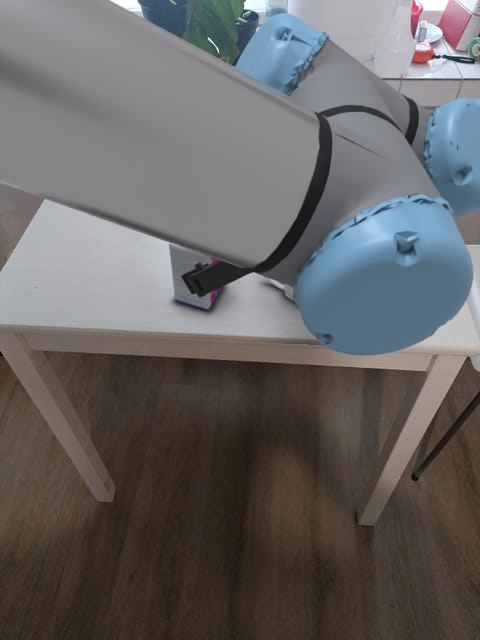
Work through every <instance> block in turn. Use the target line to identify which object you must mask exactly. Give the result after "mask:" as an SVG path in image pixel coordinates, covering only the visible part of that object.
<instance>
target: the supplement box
mask: <svg viewBox="0 0 480 640" xmlns="http://www.w3.org/2000/svg"><path fill="white" fill-rule="evenodd" d="M168 248H169V256H170V257H169V258H170V268H171V275H172V283H173V284H172V285H173V292H174V293H173V294H174V302H175V303H179V304H181V305H184V306H185V305H186V306H188V307H193V308H196V309H197V310H202V311H205V312H209V311H210V309H211V307H212V305H213V303H214V302H215V300H216V298H217V297H218V295H219V293H220V292H221V291H222V289H223V287H221V288H219V289H216V290H214V291H212V292H210V293H208V294H206V296H204V297H201V298H199V297H198V295H197V294H193V295H192V294H191V292H190V291H189V289H188V287H187V286H186V284H185V282H184V281H183V279H182V277H181V275H183V274H185V273H187V272H189V271H191V270H193V269H196V268H195V266H194V265H195V264H197V263H199V262H200V261H201V263H202V265H205V264H207V263H208V264H211V263H213V262H215V261H216V260H218V259H215V258H212V257H209V256H206V255H204V254H201V253H198V252H195V251H192V250H189V249H187V248H184V247H181V246H178V245H175V244H172V243H169V242H168Z"/></svg>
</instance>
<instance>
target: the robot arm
mask: <svg viewBox="0 0 480 640" xmlns="http://www.w3.org/2000/svg"><path fill="white" fill-rule="evenodd" d="M326 32H327V31H326ZM326 32H325V31H323V32H320V31H318V30H317V29H316V28H314V27H312V25H311V26H310V25H309V24H307V23H306V22H304V20H301V18H298V17H297V16H295V15H293V14H291V13H288V12H281V13H277V14H275V15H272V16H271V17H270V18H268V19H267V20H266V21H264V23H262V24H261V26H259V28H258V29H257V30H256V32H255V33H254V34H253V35H252V37H251V39H250V40H248V43H247V44H246V46H245V48H244V49H243V51H242V52H241V54H240V55H239V56H240V57H239V58H238V60H237V63H236V65H235V66H234V65H232V64H230V63H228V62H226V61H225V60H222V59H220V58H219V57H217V56H215V55H213V54H211V53H209V52H208V51H205V50H204V49H202V48H200V47H199V46H196V45H195V44H192V43H190V42H189V41H187V40H185V39H183V38H181V37H180V36H178V35H176V34H173V33H172V32H170V31H168V30H167V29H164V28H163V27H161V26H159V25H157V24H155V23H153V22H151V21H149V20H148V19H146V18H144V17H141V16H140V15H138V14H137V13H135V12H132V11H131V10H129V9H127V8H125V7H123V6H121V5H120V4H117V3H115V2H113V1H112V0H0V184H1V185H4V186H7V187H10V188H13V189H15V190H18V191H21V192H25V193H27V194H30V195H33V196H36V197H38V198H41V199H43V200H47V201H50V202H53V203H55V204H59V205H61V206H63V207H67V208H70V209H73V210H75V211H78V212H81V213H83V214H87V215H90V216H92V217H96V218H99V219H101V220H104V221H107V222H110V223H113V224H116V225H118V226H122V227H124V228H127V229H130V230H132V231H135V232H138V233H142V234H144V235H147V236H150V237H153V238H155V239H159V240H162V241H164V242H166V243H168V244H169V243H172V244H175V245H178V246H181V247H184V248H187V249H189V250H192V251H195V252H198V253H201V254H204V255H206V256H209V257H212V258H215V259H218V260H216V261H215V262H213V263H211V264H208V263H207V264H205V265H202V263H201V261H200V262H199V263H197V264H195V265H194V266H195V268H196V269H193V270H191V271H189V272H187V273H185V274H183V275H181V277H182V279H183V281H184V282H185V284H186V286H187V287H188V289H189V291H190V292H191V294H192V295H193V294H197V295H198V297H199V298H201V297H204V296H206V294H208V293H210V292H212V291H214V290H216V289H219V288H221V287H222V288H223V287H225V286H227V285H229V284H231V283H233V282H235V281H238V280H239V279H242V278H244V277H246V276H248V275H250V274H252V273H254V274H257V275H259V276H262V277H263V278H265V277H267V278H270V279H273V280H276V281H277V282H279V283H281V284H283V285H284V284H287V285H289V286H291V287H293V300H294V301H293V300H292V301H293V302H294V303H295V307H296V309H297V310H298V311H299V313H300V316H301V318H302V321H303V324H304V325H305V327H306V328H307V330H308V332H309V333H310V334H311V335H312V336H313V337H314V338H316V339H317V340H319V342H320V344H321V345H323V346H324V347H327V348H328V349H331V350H332V351H335V352H338V353H342V354H346V355H351V356H378V355H386V354H390V353H395V352H397V351H401V350H405V349H407V348H410V347H412V346H415V345H417V344H420V343H422V342H423V341H425V340H427V339H429V338H431V337H432V336H434V335H435V333H436V332H437V331H438V330H439V328H440V327H442V326H445V325H446V324H447V323H448V322H450V321H452V320H453V319H454V318H455V317H456V316H457V315H458V314H459V312H460V311H461V310H462V309H463V307H464V305H465V303H466V301H468V298H469V295H470V293H471V291H472V287H473V282H474V265H473V259H472V256H471V254H470V251H469V249H468V247H467V245H466V243H465V241H464V238H463V236H462V235H461V232H460V230H459V227H458V225H457V223H456V220H457V219H458V218H460V217H462V216H465V215H467V214H471V213H472V212H476V211H479V210H480V98H472V97H465V96H463V97H458V98H456V99H453V100H452V101H450V102H448V103H444V102H442V103H440V104H439V105H438V106H436V108H433V110H427V109H426V108H425V107H423V106H422V105H421V104H419V102H417V101H416V100H414V99H413V98H410V97H408V96H407V95H405V94H403V93H401V92H399V90H397V89H396V88H395V87H393V86H392V85H390V84H389V83H388V82H386V81H385V80H384V79H383V78H382V77H380V76H378V74H376V73H375V72H374V71H373V70H371V69H370V68H368V67H367V66H366V65H365V64H363V63H362V62H360V61H359V60H358V59H356V58H355V57H354V56H353V55H351V54H350V53H348V52H347V51H346V50H345V49H343V48H342V47H341V46H340V45H338V44H337V43H336V42H334V41H333V40H332V39H330V35H329V33H326Z"/></svg>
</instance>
